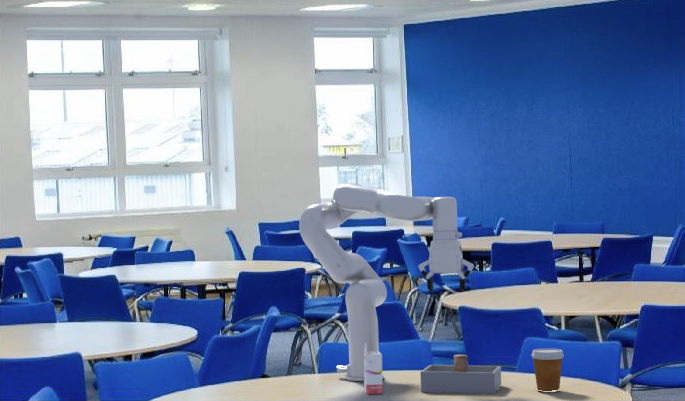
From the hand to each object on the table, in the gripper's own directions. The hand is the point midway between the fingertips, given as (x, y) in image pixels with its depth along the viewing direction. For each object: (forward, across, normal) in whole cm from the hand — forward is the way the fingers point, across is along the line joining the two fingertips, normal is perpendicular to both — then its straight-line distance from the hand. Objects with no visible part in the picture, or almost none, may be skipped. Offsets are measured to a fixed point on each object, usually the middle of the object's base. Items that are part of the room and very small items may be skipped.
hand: (446, 291), depth 379 cm
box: (+28, -6, +11) cm, 31 cm away
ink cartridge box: (+29, +19, +20) cm, 40 cm away
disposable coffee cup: (+28, -32, +12) cm, 44 cm away
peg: (+28, -6, +11) cm, 31 cm away
